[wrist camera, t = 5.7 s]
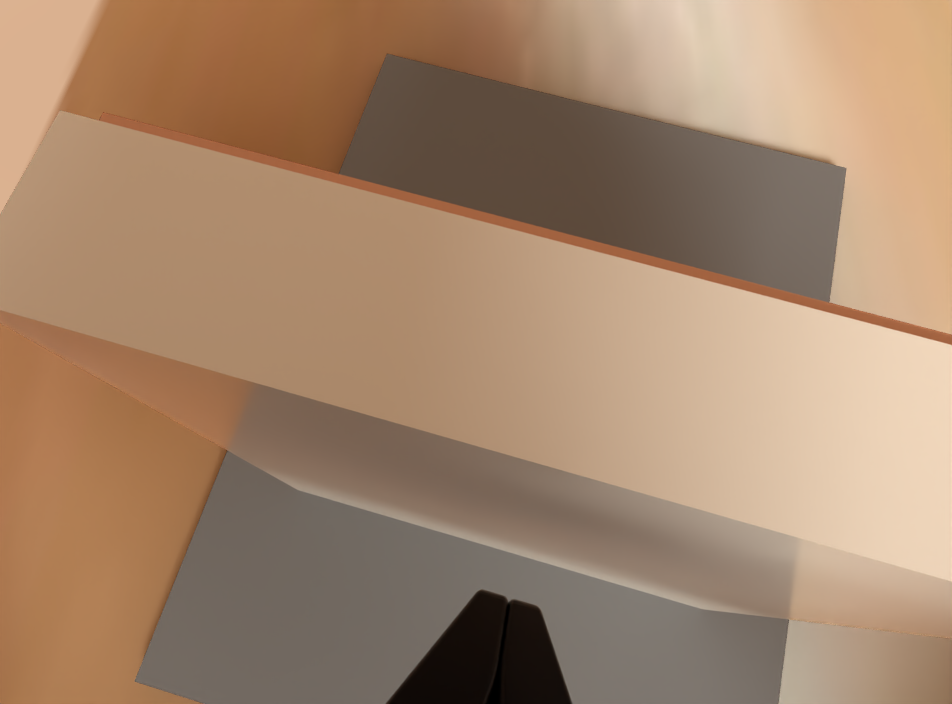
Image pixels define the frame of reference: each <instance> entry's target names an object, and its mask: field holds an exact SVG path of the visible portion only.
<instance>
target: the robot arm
mask: <svg viewBox="0 0 952 704" xmlns="http://www.w3.org/2000/svg"><path fill="white" fill-rule="evenodd" d="M386 704H572V701H571V698H570V695H569V692H568V689H567V686H566V683H565V680H564V677H563V674H562V671H561V668H560V665H559V662H558V659H557V656H556V653H555V650H554V647H553V644H552V641H551V638H550V635H549V632H548V629H547V626H546V623H545V620H544V617H543V614H542V611H541V609H540V608H539V607H538V606H536V605H534V604H530V603H527V602H524V601H520V600H517V599H512V600H510V601H509V602H508V599H507V597H506V596H504V595H500V594H497V593H494V592H490V591H487V590H483V589H481V590H479V591H477V592H476V593H475V594H474V595H473V597H472V598H471V599H470V600H469V602H468V603H467V604H466V605H465V607H464V608H463V609H462V610H461V611H460V613H459V614H458V615H457V616H456V618H455V619H454V620H453V621H452V623H451V624H450V625H449V626H448V627H447V629H446V630H445V631H444V632H443V634H442V635H441V636H440V637H439V638H438V640H437V641H436V642H435V643H434V645H433V646H432V647H431V648H430V650H429V651H428V652H427V653H426V654H425V656H424V657H423V658H422V659H421V661H420V662H419V663H418V664H417V666H416V667H415V668H414V669H413V670H412V672H411V673H410V674H409V675H408V677H407V678H406V679H405V680H404V681H403V683H402V684H401V685H400V686H399V688H398V689H397V690H396V691H395V693H394V694H393V695H392V696H391V697H390V699H389V700H388V701H387V702H386Z"/></svg>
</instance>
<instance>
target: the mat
mask: <svg viewBox="0 0 952 704" xmlns="http://www.w3.org/2000/svg"><path fill="white" fill-rule="evenodd" d="M339 174H341V175H345V176H348V177H352V178H356V179H360V180H364V181H367V182H371V183H375V184H379V185H383V186H386V187H390V188H394V189H398V190H402V191H406V192H409V193H413V194H417V195H421V196H425V197H428V198H432V199H436V200H440V201H444V202H447V203H451V204H455V205H459V206H463V207H467V208H470V209H474V210H478V211H482V212H486V213H489V214H493V215H497V216H501V217H505V218H508V219H512V220H516V221H520V222H524V223H528V224H531V225H535V226H539V227H543V228H547V229H550V230H554V231H558V232H562V233H566V234H569V235H573V236H577V237H581V238H585V239H589V240H592V241H596V242H600V243H604V244H608V245H611V246H615V247H619V248H623V249H627V250H630V251H634V252H638V253H642V254H646V255H650V256H653V257H657V258H661V259H665V260H669V261H672V262H676V263H680V264H684V265H688V266H691V267H695V268H699V269H703V270H707V271H711V272H714V273H718V274H722V275H726V276H730V277H733V278H737V279H741V280H745V281H749V282H752V283H756V284H760V285H764V286H768V287H772V288H775V289H779V290H783V291H787V292H791V293H794V294H798V295H802V296H806V297H810V298H813V299H817V300H821V301H825V302H829V301H830V293H831V285H832V277H833V269H834V262H835V254H836V246H837V238H838V230H839V222H840V214H841V207H842V199H843V191H844V183H845V175H846V168H844V167H840V166H836V165H832V164H828V163H824V162H820V161H816V160H812V159H808V158H804V157H800V156H796V155H792V154H788V153H784V152H780V151H776V150H772V149H768V148H764V147H760V146H756V145H752V144H748V143H744V142H739V141H735V140H731V139H727V138H723V137H719V136H715V135H711V134H707V133H703V132H699V131H695V130H691V129H687V128H683V127H679V126H675V125H671V124H667V123H663V122H659V121H655V120H651V119H647V118H643V117H639V116H635V115H631V114H627V113H623V112H619V111H615V110H611V109H607V108H603V107H599V106H595V105H591V104H587V103H583V102H579V101H575V100H571V99H567V98H563V97H559V96H555V95H551V94H547V93H543V92H539V91H535V90H531V89H527V88H523V87H519V86H515V85H511V84H507V83H503V82H499V81H495V80H491V79H487V78H483V77H479V76H475V75H471V74H467V73H463V72H459V71H455V70H451V69H447V68H443V67H439V66H435V65H430V64H426V63H422V62H418V61H414V60H410V59H406V58H402V57H398V56H394V55H390V54H387V55H386V58H385V60H384V62H383V65H382V67H381V70H380V72H379V75H378V77H377V80H376V82H375V85H374V87H373V90H372V92H371V95H370V97H369V100H368V102H367V105H366V107H365V110H364V112H363V115H362V117H361V120H360V122H359V125H358V127H357V130H356V132H355V135H354V137H353V140H352V142H351V145H350V147H349V149H348V152H347V154H346V157H345V159H344V162H343V164H342V167H341V169H340V172H339ZM481 589H483V590H487V591H490V592H494V593H497V594H500V595H504V596H506V597H507V599H508V602H509V601H510V600H512V599H517V600H520V601H524V602H527V603H530V604H534V605H536V606H538V607H539V608H540V609H541V611H542V614H543V617H544V620H545V623H546V626H547V629H548V632H549V635H550V638H551V641H552V644H553V647H554V650H555V653H556V656H557V659H558V662H559V665H560V668H561V671H562V674H563V677H564V680H565V683H566V686H567V689H568V692H569V695H570V698H571V701H572V704H778V701H779V693H780V686H781V678H782V670H783V662H784V654H785V646H786V638H787V631H788V623H789V619H781V618H772V617H764V616H755V615H747V614H738V613H730V612H721V611H713V610H704V609H700V608H696V607H693V606H690V605H686V604H683V603H679V602H676V601H673V600H669V599H666V598H662V597H659V596H656V595H652V594H649V593H645V592H642V591H639V590H635V589H632V588H628V587H625V586H622V585H618V584H615V583H611V582H608V581H605V580H601V579H598V578H595V577H591V576H588V575H584V574H581V573H578V572H574V571H571V570H567V569H564V568H561V567H557V566H554V565H550V564H547V563H544V562H540V561H537V560H533V559H530V558H527V557H523V556H520V555H516V554H513V553H510V552H506V551H503V550H500V549H496V548H493V547H489V546H486V545H483V544H479V543H476V542H472V541H469V540H466V539H462V538H459V537H455V536H452V535H449V534H445V533H442V532H438V531H435V530H432V529H428V528H425V527H422V526H418V525H415V524H411V523H408V522H405V521H401V520H398V519H394V518H391V517H388V516H384V515H381V514H377V513H374V512H371V511H367V510H364V509H360V508H357V507H354V506H350V505H347V504H343V503H340V502H337V501H333V500H330V499H327V498H323V497H320V496H316V495H313V494H310V493H306V492H303V491H299V490H297V489H295V488H293V487H291V486H290V485H288V484H286V483H284V482H283V481H281V480H279V479H277V478H275V477H274V476H272V475H270V474H268V473H267V472H265V471H263V470H261V469H259V468H258V467H256V466H254V465H252V464H250V463H249V462H247V461H245V460H243V459H242V458H240V457H238V456H236V455H234V454H233V453H231V452H229V451H227V453H226V455H225V458H224V460H223V463H222V465H221V468H220V470H219V473H218V475H217V478H216V480H215V483H214V485H213V488H212V490H211V493H210V495H209V498H208V500H207V502H206V505H205V507H204V510H203V512H202V515H201V517H200V520H199V522H198V525H197V527H196V530H195V532H194V535H193V537H192V540H191V542H190V545H189V547H188V550H187V552H186V555H185V557H184V560H183V562H182V565H181V567H180V570H179V572H178V575H177V577H176V580H175V582H174V585H173V587H172V589H171V592H170V594H169V597H168V599H167V602H166V604H165V607H164V609H163V612H162V614H161V617H160V619H159V622H158V624H157V627H156V629H155V632H154V634H153V637H152V639H151V642H150V644H149V647H148V649H147V652H146V654H145V657H144V659H143V662H142V664H141V667H140V669H139V672H138V674H137V676H136V679H135V682H138V683H141V684H144V685H147V686H150V687H153V688H157V689H160V690H163V691H166V692H169V693H172V694H175V695H179V696H182V697H185V698H188V699H191V700H194V701H197V702H200V703H204V704H386V702H387V701H388V700H389V699H390V697H391V696H392V695H393V694H394V693H395V691H396V690H397V689H398V688H399V686H400V685H401V684H402V683H403V681H404V680H405V679H406V678H407V677H408V675H409V674H410V673H411V672H412V670H413V669H414V668H415V667H416V666H417V664H418V663H419V662H420V661H421V659H422V658H423V657H424V656H425V654H426V653H427V652H428V651H429V650H430V648H431V647H432V646H433V645H434V643H435V642H436V641H437V640H438V638H439V637H440V636H441V635H442V634H443V632H444V631H445V630H446V629H447V627H448V626H449V625H450V624H451V623H452V621H453V620H454V619H455V618H456V616H457V615H458V614H459V613H460V611H461V610H462V609H463V608H464V607H465V605H466V604H467V603H468V602H469V600H470V599H471V598H472V597H473V595H474V594H475V593H476V592H477V591H479V590H481Z"/></svg>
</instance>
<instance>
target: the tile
mask: <svg viewBox="0 0 952 704" xmlns="http://www.w3.org/2000/svg"><path fill="white" fill-rule="evenodd" d="M0 323H1V324H3V325H4V326H6V327H8V328H10V329H12V330H13V331H15V332H17V333H19V334H21V335H22V336H24V337H26V338H28V339H29V340H31V341H33V342H35V343H37V344H38V345H40V346H42V347H44V348H45V349H47V350H49V351H51V352H53V353H54V354H56V355H58V356H60V357H62V358H63V359H65V360H67V361H69V362H70V363H72V364H74V365H76V366H78V367H79V368H81V369H83V370H85V371H86V372H88V373H90V374H92V375H94V376H95V377H97V378H99V379H101V380H103V381H104V382H106V383H108V384H110V385H111V386H113V387H115V388H117V389H119V390H120V391H122V392H124V393H126V394H127V395H129V396H131V397H133V398H135V399H136V400H138V401H140V402H142V403H144V404H145V405H147V406H149V407H151V408H152V409H154V410H156V411H158V412H160V413H161V414H163V415H165V416H167V417H168V418H170V419H172V420H174V421H176V422H177V423H179V424H181V425H183V426H185V427H186V428H188V429H190V430H192V431H193V432H195V433H197V434H199V435H201V436H202V437H204V438H206V439H208V440H209V441H211V442H213V443H215V444H217V445H218V446H220V447H222V448H224V449H226V450H227V451H229V452H231V453H233V454H234V455H236V456H238V457H240V458H242V459H243V460H245V461H247V462H249V463H250V464H252V465H254V466H256V467H258V468H259V469H261V470H263V471H265V472H267V473H268V474H270V475H272V476H274V477H275V478H277V479H279V480H281V481H283V482H284V483H286V484H288V485H290V486H291V487H293V488H295V489H297V490H299V491H303V492H306V493H310V494H313V495H316V496H320V497H323V498H327V499H330V500H333V501H337V502H340V503H343V504H347V505H350V506H354V507H357V508H360V509H364V510H367V511H371V512H374V513H377V514H381V515H384V516H388V517H391V518H394V519H398V520H401V521H405V522H408V523H411V524H415V525H418V526H422V527H425V528H428V529H432V530H435V531H438V532H442V533H445V534H449V535H452V536H455V537H459V538H462V539H466V540H469V541H472V542H476V543H479V544H483V545H486V546H489V547H493V548H496V549H500V550H503V551H506V552H510V553H513V554H516V555H520V556H523V557H527V558H530V559H533V560H537V561H540V562H544V563H547V564H550V565H554V566H557V567H561V568H564V569H567V570H571V571H574V572H578V573H581V574H584V575H588V576H591V577H595V578H598V579H601V580H605V581H608V582H611V583H615V584H618V585H622V586H625V587H628V588H632V589H635V590H639V591H642V592H645V593H649V594H652V595H656V596H659V597H662V598H666V599H669V600H673V601H676V602H679V603H683V604H686V605H690V606H693V607H696V608H700V609H704V610H713V611H721V612H730V613H738V614H747V615H755V616H764V617H772V618H781V619H789V620H797V621H806V622H814V623H823V624H831V625H840V626H848V627H857V628H865V629H873V630H882V631H890V632H899V633H907V634H916V635H924V636H933V637H941V638H950V639H952V335H951V334H947V333H943V332H939V331H935V330H932V329H928V328H924V327H920V326H916V325H913V324H909V323H905V322H901V321H897V320H894V319H890V318H886V317H882V316H878V315H874V314H871V313H867V312H863V311H859V310H855V309H852V308H848V307H844V306H840V305H836V304H833V303H829V302H825V301H821V300H817V299H813V298H810V297H806V296H802V295H798V294H794V293H791V292H787V291H783V290H779V289H775V288H772V287H768V286H764V285H760V284H756V283H752V282H749V281H745V280H741V279H737V278H733V277H730V276H726V275H722V274H718V273H714V272H711V271H707V270H703V269H699V268H695V267H691V266H688V265H684V264H680V263H676V262H672V261H669V260H665V259H661V258H657V257H653V256H650V255H646V254H642V253H638V252H634V251H630V250H627V249H623V248H619V247H615V246H611V245H608V244H604V243H600V242H596V241H592V240H589V239H585V238H581V237H577V236H573V235H569V234H566V233H562V232H558V231H554V230H550V229H547V228H543V227H539V226H535V225H531V224H528V223H524V222H520V221H516V220H512V219H508V218H505V217H501V216H497V215H493V214H489V213H486V212H482V211H478V210H474V209H470V208H467V207H463V206H459V205H455V204H451V203H447V202H444V201H440V200H436V199H432V198H428V197H425V196H421V195H417V194H413V193H409V192H406V191H402V190H398V189H394V188H390V187H386V186H383V185H379V184H375V183H371V182H367V181H364V180H360V179H356V178H352V177H348V176H345V175H341V174H337V173H333V172H329V171H325V170H322V169H318V168H314V167H310V166H306V165H303V164H299V163H295V162H291V161H287V160H284V159H280V158H276V157H272V156H268V155H264V154H261V153H257V152H253V151H249V150H245V149H242V148H238V147H234V146H230V145H226V144H222V143H219V142H215V141H211V140H207V139H203V138H200V137H196V136H192V135H188V134H184V133H181V132H177V131H173V130H169V129H165V128H161V127H158V126H154V125H150V124H146V123H142V122H139V121H135V120H131V119H127V118H123V117H120V116H116V115H112V114H108V113H104V112H103V114H102V116H101V117H100V119H99V120H95V119H91V118H88V117H84V116H80V115H76V114H72V113H69V112H65V111H61V110H60V111H59V113H58V114H57V116H56V118H55V120H54V121H53V123H52V125H51V127H50V128H49V130H48V132H47V134H46V135H45V137H44V139H43V140H42V142H41V144H40V146H39V147H38V149H37V151H36V153H35V154H34V156H33V158H32V160H31V161H30V163H29V165H28V167H27V168H26V170H25V172H24V174H23V175H22V177H21V179H20V181H19V182H18V184H17V186H16V188H15V189H14V191H13V193H12V195H11V196H10V198H9V200H8V202H7V203H6V205H5V207H4V209H3V210H2V212H1V214H0Z"/></svg>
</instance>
